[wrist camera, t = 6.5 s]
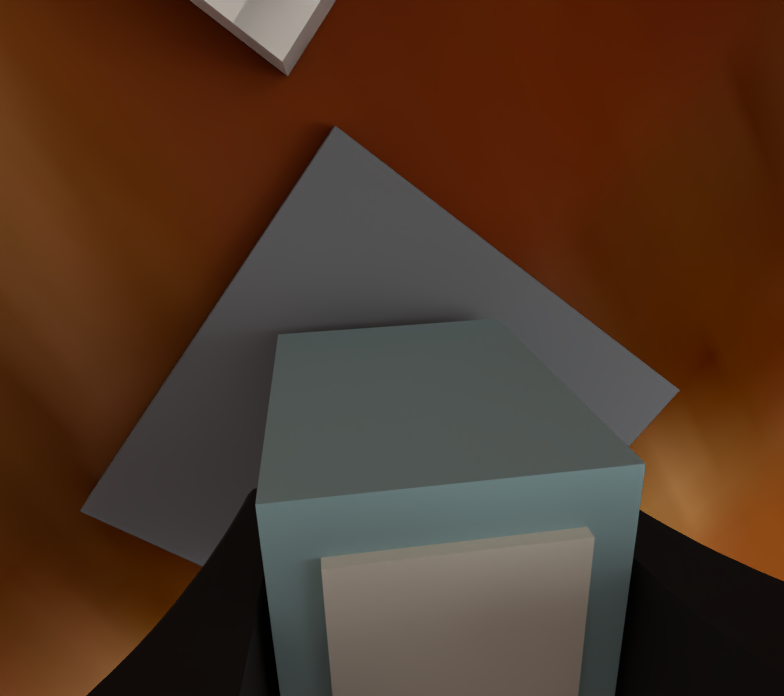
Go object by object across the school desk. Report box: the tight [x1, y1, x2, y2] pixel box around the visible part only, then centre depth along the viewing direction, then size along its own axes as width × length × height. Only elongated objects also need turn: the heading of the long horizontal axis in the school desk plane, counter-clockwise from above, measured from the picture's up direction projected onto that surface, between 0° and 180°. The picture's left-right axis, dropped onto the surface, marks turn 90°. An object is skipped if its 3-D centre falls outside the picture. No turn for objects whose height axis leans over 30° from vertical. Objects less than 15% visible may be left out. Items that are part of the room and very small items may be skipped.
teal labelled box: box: [255, 319, 646, 696], centre depth 10 cm, size 4×6×6 cm
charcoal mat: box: [80, 126, 679, 566], centre depth 14 cm, size 10×10×1 cm
